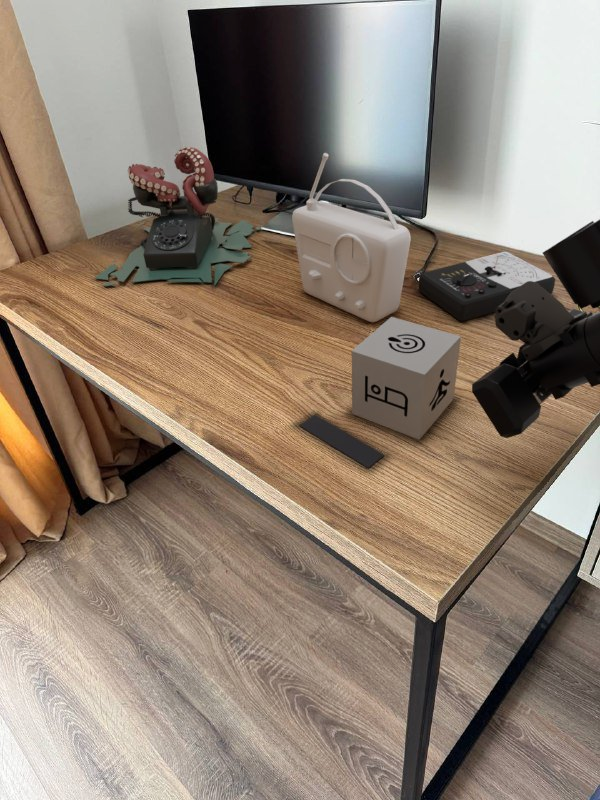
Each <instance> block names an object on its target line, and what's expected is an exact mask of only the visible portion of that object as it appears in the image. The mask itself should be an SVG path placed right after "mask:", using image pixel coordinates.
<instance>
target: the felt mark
mask: <svg viewBox="0 0 600 800" xmlns="http://www.w3.org/2000/svg"><path fill="white" fill-rule="evenodd" d="M298 427H300V428H301V429H303V430H304V431H306V432H308V433H310V434H311V435H313V436H314V437H316V438H317V439H319V440H321V441H322V442H324V443H326V444H327V445H329V446H330V447H332V448H334V449H335V450H336V451H339V452H340V453H342V454H343V455H345V456H347V457H348V458H350V459H352V460H354V461H355V462H356V463H358V464H360V465H361V466H362V467H363V466H364V467H365V468H366V469H370V468H371V467H372V466H374V465H375V464H376V463H377V462H379V461H380V460H381V459H383V458H384V457H385V454H383V453H382V452H380V451H378V450H377V449H375V448H373V447H371V446H370V445H368V444H367V443H365V442H363V441H361V440H359V439H358V438H356V437H354V436H353V435H352V434H349V433H347V432H346V431H344V430H343V429H340V428H339V427H337V426H336V425H334V424H332V423H331V422H328V421H327V420H325V419H324V418H322V417H320V416H319V415H317V414H313V415H312V416H310V417H309V418H307V419H306V420H305V421H303V422H301V423H300V424H298Z"/></svg>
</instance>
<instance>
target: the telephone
mask: <svg viewBox="0 0 600 800" xmlns="http://www.w3.org/2000/svg"><path fill="white" fill-rule="evenodd" d="M173 162H174V165H175V168H176V170H179V171H180V172H181V174H185V175H187V176H185V177H184V178H183V179H182V180H181V181H182V183H181V189H182V190H183V191H182V193H183V195H181V190H180V188H179V186H178V185H177V184H175V183H174V182H170V181H167V180H165V178H166V177H165V175H166V174H165V171H164V168H161V167H157V166H153V167H151V166H149V165H145V164H138V163H135V164H134V163H132V164H131V165H129V166H128V167H127V168H128V169H127V176H128V179H129V180H130V183H131V184H132V191H133V194H134V197H132V198H129V199H127V200H128V202H127V203H128V204H127V205H128V206H127V210H128V213H129V214H130V215H133V216H138V217H140V218H144V216H145V217H147V218H148V217H149V218H150V217H152V216H153V217H155V218H153V219H152V222H151V225H150V227H143V229H144V231H146V232H147V233H148V234H147V236H146V238H145V239H142V240H141V241H140V246H138V247H137V248H135V249H134V250H133V251H131V252H130V253H129V255H128V257H127V258H126V261H125V262H123V263H121V264H120V265H121V269H119V267H118V266H117V264H116V263H117V260H116V259H115V260H112V262H113V264H110V265H109V266H107V267H106V268H105V269H104V270H102V271H101V272H100V273H99V274H97V275H96V276H94V279H96V280H104V281H109V276H111V277H112V276H113V277H116V281H118V282H121V283H124V282H125V281H126V279H127V278H128V277H129V276H130V275H131V273H132V272H133V271H134V269H135V268H138V269H137V271H136V272H135V275H134V277H133V280H132V283H140V282H148V281H149V282H150V281H158V280H159V281H160V280H165V282H167V283H169V282H170V283H208V284H209V283H211V284H212V283H213V278H212V266H211V265H212V264H215V265H214V287H216V285H217V283H218V282H219V280H220V279H221V277H223V275H224V273H225V272H227V271H228V270H229V269H232V268H233V267H234V265H232V264H231V265H230V264H225V262H231V263H239V264H240V263H241V264H244V263H246V262H247V261H248V260H249V259H251V257H253V254H250V255H249V252H247V251H242V250H243V249H251V248H253V247H252V245H251V244H250V242H249V241H248V239H247V238H246V237H247V236H249V235H251V234H253V232H254V231H255V230H257V231H259V230H262V227H261V226H256V227H255V229H254V225H253V224H252V223H250V222H248V221H246V220H245V219H241V220H240V221H239V222H237V223H235V224H234V225H233V222H217V221H218V220H219V219H220V217H217V218H216V217H215V215H213V213H211V212H207V210H208V207H209V206H210V205H213V204H215V203H216V202H217V199H218V197H219V196H218V194H219V189H218V188H219V186H218V180H217V179H216V178H215V174H214V169H213V165H212V162H211V161H210V159H209V158H208V156H207V155H206V154H204V153H203V152H202V151H201V150H199V149H198V148H196V147H192V146H183V147H182V148H181V147H180V148H179V149H178V151H177V152H175V154H174V160H173ZM135 201H137V202H138V204H140V205H141V206H143V207H148V208H149V207H150V208H153V209H154V208H155V209H159V213H158V212H155V211H148V210H146V211H138V210H137V211H136V210H133V202H135ZM146 223H147V222H146V221H144V222H140V223H139V224H138V228H140V227H142V226H144V225H145V224H146ZM231 225H232V226H231ZM230 226H231V228H230V229H229V231H227V233H225V231H226V229H227V228H229V227H230ZM224 234H226V235H224ZM220 245H221V246H222V247H220ZM236 250H237V251H236ZM118 269H119V270H118ZM116 270H117V271H116ZM115 285H117V283H116V282H111V281H110V282H106V283H102V286H104V287H111V286H115Z"/></svg>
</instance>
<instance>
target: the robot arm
mask: <svg viewBox="0 0 600 800" xmlns="http://www.w3.org/2000/svg"><path fill="white" fill-rule="evenodd" d="M542 255H543V256H544V259H546V261H547V263H548V264H549V266H550V267H551V268H552V270H553V272H554V274H555V275H556V277H557V278H558V280H559V282H560V283H561V285H562V286H563V288H564V289H565V291H566V292H567V294H568V296H569V297H570V299H571V300H572V302H573V303H574V305H577V306H578V307H579V309H584V308H587V307H589V306H590V307H591V308H592V309H596V308H599V307H600V218H599V219H597V220H596V221H595V222H594V220H592V221H590V222H588V223H587V224H585V225H583V226H582V227H580V228H579V229H577V230H576V231H574V232H573V233H571V234H569V235H568V236H566V237H565V238H563V239H561V240H560V241H559V242H557V243H555V244H553V245H552V246H551V247H549V248H548V249H545V250H544V251H542ZM579 309H576V308H572V309H570V310H568V309H566V307H565V305H564V304H563V303H562V302H561V301H559V300H558V299H557V298H556V297H555V296H553V294H550V293H549V292H547V291H546V290H545V289H544V288H542V287H541V286H540V285H539V284H537V283H535V282H533V281H527V282H526V283H524V284H523V285H521V286H520V287H518V288H517V289H515V290H514V291H512V292H511V293H510V294H509V296H508V297H507V298H506V300H505V301H504V303H502V304H501V305H499V306H498V307H497V308H496V309H495V312H494V316H493V318H494V322H495V323H494V324H495V326H496V329H498V330H499V331H501V332H502V333H503V334H504V335H505V336H506V337H507V338H509V339H510V340H511V341H513V342H515V341H516V342H517V341H519V340H520V342H522V343H523V344H522V345H520V347H518V353H517V355H515V353H514V352H511V353H510V354H509V355H507V356H506V357H505V358H504V359H503V360H501V361H500V362H499V365H498V366H496V367H494V368H492V369H491V370H489V371H487V372H486V373H485V374H484V375H482V376H481V377H479V378H478V379H476V380H475V381H474V382H473V383H472V384H471V392H472V395H473V396H474V397H475V399H476V400H477V402H478V403H479V405H480V407H481V408H482V410H483V412H484V413H485V414H486V417H488V419H489V421H490V423H491V424H492V426H493V427H494V428H495V430H496V432H497V433H498V435H499V437H501V438H504V439H509V438H512V437H516V436H518V435H522V434H523V432H525V431H526V430H527V429H528V428H529V427H530V426H531V425H532V424H533V423H534V422H535V421H537V420H538V419H539V417H540V414H541V409H542V405H541V404H542V403H543V404H544V402H545V401H547V400H548V399H549V398H550V397H551V396H553V398H554V400H560V399H563V398H565V397H566V396H567V395H568V394H570V392H571V391H572V390H573V389H574V388H577V387H580V386H583V385H585V384H589V386H590V387H591V388H593V387H596V386H599V385H600V311H597V312H595V313H593V312H592V311H589V312H586V311H582V310H579Z"/></svg>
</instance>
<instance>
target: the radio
mask: <svg viewBox="0 0 600 800" xmlns="http://www.w3.org/2000/svg"><path fill="white" fill-rule="evenodd" d="M321 158H322V159H321V163H320V165H319V167H318V171H317V173H316V177H315V180H314V183H313V185H312V188H311V191H310V194H309V199H307V200H306V202H305V204H306V205H304V206H300V207H298V208H296V209H294V210H293V212H292V215H291V221H292V228H293V233H294V239H295V245H296V254H297V259H298V265H299V271H300V278H301V284H302V289H303V291H304V292H305V293H306V294H308V295H309V296H312V297H315V298H317V299H319V300H321V301H323V302H325V303H327V304H328V305H329V304H330V305H331V306H333V307H336V308H338V309H340V310H342V311H345V312H347V313H349V314H351V315H354V316H356V317H358V318H360V319H362V320H365V321H367V322H370V323H377V322H379V321H380V320H382V319H384V318H386V317H388V316H390V315H392V314H393V313H395V312H396V311H397V310H398V309H399V307H400V302H401V297H402V292H403V291H402V290H403V285H404V280H405V275H406V268H407V263H408V257H409V252H410V245H411V240H412V239H411V238H412V237H411V233H410V230H409V229H408V228H407V227H406V226H404V225H402V224H400V223H397V220H396V219H395V217H394V214H393V212H392V210H391V208H389V206H388V205H387V204H386V202H385V201H384V200H383V197H381V195H380V194H378V193H377V192H376V191H375V190H374V189H372V188H371V187H370V186H369V185H367V184H365V183H363V182H361V181H358V180H356V179H350V178H341V179H338V180H335V181H332V182H329V183H327V184H325V185H324V186H323V187H322V188H321V189H319V191H318V192H317V193H316V195H315V192H316V190H317V188H318V184H319V181H320V179H321V176H322V173H323V170H324V167H325V165H326V162H327V161H328V160H329V154H328V153H327V152H324V153H323V154H322V157H321ZM337 182H344V183H346V182H347V183H352V184H354V185H356V186H359V187H361V188H363V189H364V190H366V191H367V192H368V193H369V194H370V195H371V196H372V197H373V198H374V199H376V201H377V203H378V204H379V205H380V206H381V208H382V209H383V210H384V212H385V213H386V215H387V218H388V220H387V219H382V218H379V217H376V216H374V215H373V216H372V215H370V214H366V213H362V212H359V211H356V210H354V209H350V208H346V207H344V206H343V207H342V206H340V205H336V204H333V203H330V202H326V201H323V200H319V199H320V197H321V195H322V193H323V192H324V191H325V190H326V189H327V188H328V187H329V186H330V185H331V184H334V183H337ZM314 195H315V197H314Z"/></svg>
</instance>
